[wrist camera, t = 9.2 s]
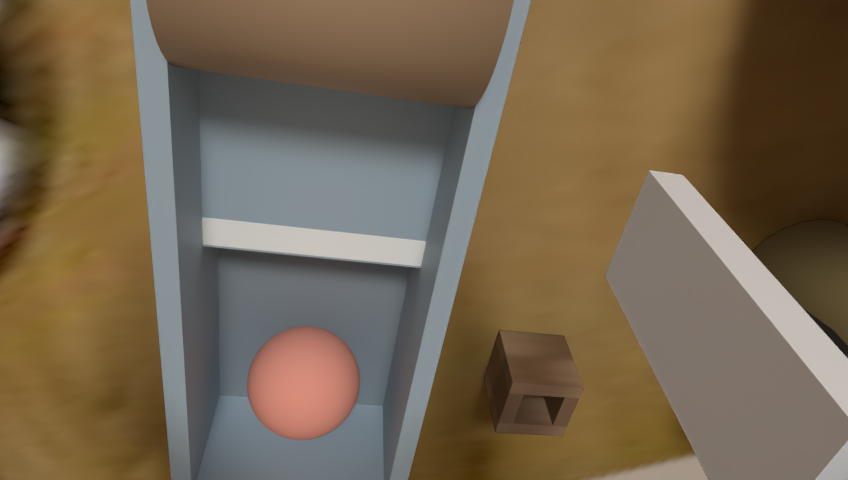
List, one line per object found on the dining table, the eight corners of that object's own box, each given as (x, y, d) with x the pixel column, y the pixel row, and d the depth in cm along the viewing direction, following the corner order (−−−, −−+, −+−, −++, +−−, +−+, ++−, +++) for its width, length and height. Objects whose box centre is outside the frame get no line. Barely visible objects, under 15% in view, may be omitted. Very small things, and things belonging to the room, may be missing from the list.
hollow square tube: (564, 335, 31) (583, 387, 28) (545, 382, 32) (562, 436, 30) (499, 330, 30) (512, 382, 27) (484, 378, 32) (495, 432, 29)
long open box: (522, -174, 19) (596, -179, 12) (394, 414, 33) (399, 548, 27) (184, -247, 17) (75, -296, 11) (205, 403, 32) (163, 541, 25)
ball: (353, 395, 31) (353, 468, 26) (253, 389, 30) (235, 462, 26) (365, 310, 29) (367, 372, 24) (258, 301, 28) (240, 363, 24)
